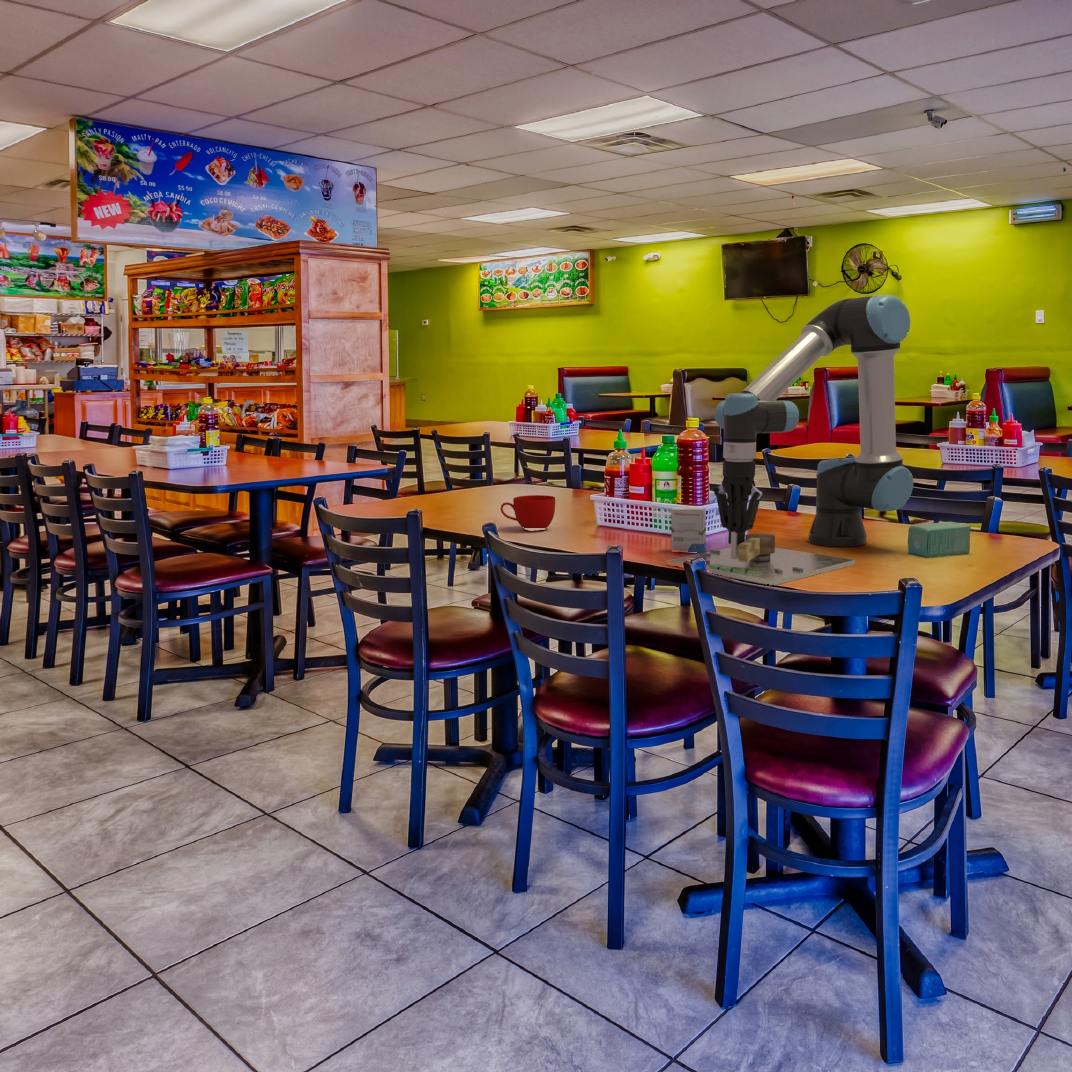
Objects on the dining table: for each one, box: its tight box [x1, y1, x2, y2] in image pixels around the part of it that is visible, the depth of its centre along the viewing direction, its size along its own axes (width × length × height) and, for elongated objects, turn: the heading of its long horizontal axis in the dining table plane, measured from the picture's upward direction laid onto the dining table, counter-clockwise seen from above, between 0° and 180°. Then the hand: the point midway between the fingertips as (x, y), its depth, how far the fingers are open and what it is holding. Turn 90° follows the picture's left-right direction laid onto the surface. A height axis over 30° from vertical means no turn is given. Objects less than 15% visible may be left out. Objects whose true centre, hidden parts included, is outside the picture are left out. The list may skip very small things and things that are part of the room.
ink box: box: [670, 506, 707, 554], centre depth 250 cm, size 9×5×12 cm, turn 70°
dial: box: [738, 532, 776, 562], centre depth 226 cm, size 19×7×4 cm, turn 149°
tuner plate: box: [666, 546, 856, 586], centre depth 232 cm, size 32×32×3 cm
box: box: [907, 521, 971, 559], centre depth 240 cm, size 7×14×8 cm, turn 109°
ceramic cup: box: [500, 494, 556, 529], centre depth 290 cm, size 13×17×10 cm
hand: (736, 558), depth 226 cm, fingers closed
